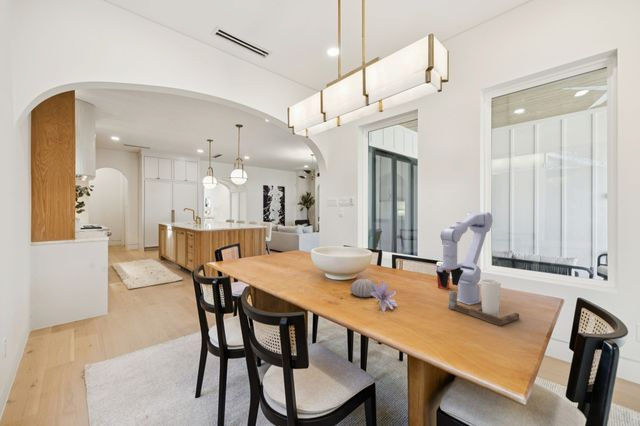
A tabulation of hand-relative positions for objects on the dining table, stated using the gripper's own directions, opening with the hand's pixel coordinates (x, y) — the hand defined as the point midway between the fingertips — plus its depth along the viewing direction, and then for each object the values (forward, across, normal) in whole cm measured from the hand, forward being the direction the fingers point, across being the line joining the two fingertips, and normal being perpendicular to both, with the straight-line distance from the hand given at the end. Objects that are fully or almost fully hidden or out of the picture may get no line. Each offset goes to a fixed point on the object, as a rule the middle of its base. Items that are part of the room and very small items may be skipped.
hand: (449, 286), depth 121 cm
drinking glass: (+10, -3, +16) cm, 19 cm away
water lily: (+10, +26, -14) cm, 31 cm away
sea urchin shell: (+10, +23, -32) cm, 41 cm away
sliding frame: (+9, -5, +11) cm, 15 cm away
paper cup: (+10, -24, -21) cm, 33 cm away
